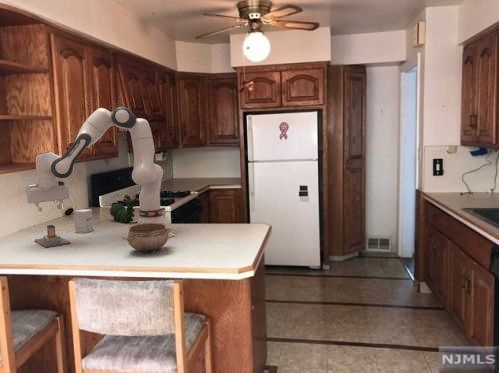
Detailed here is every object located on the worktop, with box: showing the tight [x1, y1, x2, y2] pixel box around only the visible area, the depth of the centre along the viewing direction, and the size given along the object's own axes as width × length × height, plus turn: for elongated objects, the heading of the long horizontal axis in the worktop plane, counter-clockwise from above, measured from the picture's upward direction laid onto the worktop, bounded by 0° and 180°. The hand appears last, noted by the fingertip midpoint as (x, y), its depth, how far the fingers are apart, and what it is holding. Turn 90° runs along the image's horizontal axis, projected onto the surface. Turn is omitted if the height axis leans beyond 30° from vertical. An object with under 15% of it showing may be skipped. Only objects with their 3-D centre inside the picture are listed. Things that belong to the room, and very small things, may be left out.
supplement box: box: [73, 208, 94, 234], centre depth 249 cm, size 7×7×13 cm
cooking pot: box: [122, 222, 172, 254], centre depth 202 cm, size 25×19×12 cm
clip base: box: [34, 233, 71, 249], centre depth 225 cm, size 20×12×4 cm, turn 41°
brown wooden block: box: [46, 224, 57, 238], centre depth 224 cm, size 5×2×8 cm, turn 42°
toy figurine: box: [109, 194, 136, 224], centre depth 276 cm, size 10×19×26 cm
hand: (49, 209), depth 223 cm, fingers open, 8 cm apart
